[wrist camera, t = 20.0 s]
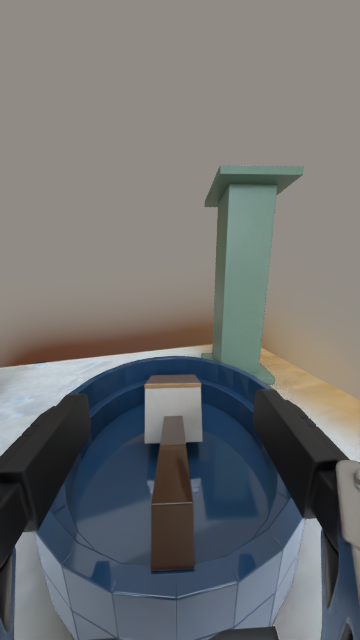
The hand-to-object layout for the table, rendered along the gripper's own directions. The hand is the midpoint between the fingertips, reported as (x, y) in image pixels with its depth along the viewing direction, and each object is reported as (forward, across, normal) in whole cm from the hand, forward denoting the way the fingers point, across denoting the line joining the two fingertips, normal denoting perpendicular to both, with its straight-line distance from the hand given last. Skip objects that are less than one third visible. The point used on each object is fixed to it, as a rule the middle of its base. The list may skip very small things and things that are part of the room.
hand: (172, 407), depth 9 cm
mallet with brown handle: (+5, 0, +8) cm, 10 cm away
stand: (+26, -12, +12) cm, 31 cm away
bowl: (+8, 0, +12) cm, 14 cm away
